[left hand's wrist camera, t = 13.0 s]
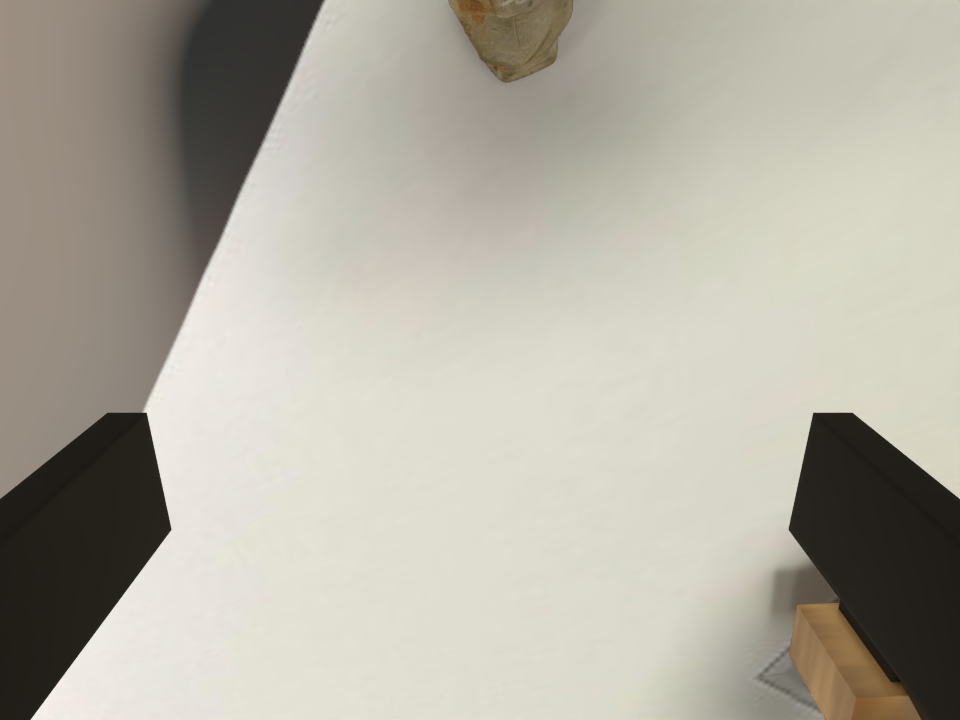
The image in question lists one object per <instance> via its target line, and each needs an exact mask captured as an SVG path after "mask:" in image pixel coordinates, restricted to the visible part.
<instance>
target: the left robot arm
mask: <svg viewBox="0 0 960 720" xmlns="http://www.w3.org/2000/svg"><path fill="white" fill-rule="evenodd" d="M170 531H171V525H170V520H169V516H168V511H167V506H166V502H165V497H164V492H163V487H162V483H161V478H160V473H159V469H158V464H157V459H156V455H155V450H154V445H153V441H152V436H151V431H150V426H149V422H148V417H147V413H107V414H106V415H104V416H103V417H102V418H101V419H99V420H98V421H97V422H96V423H94V424H93V425H92V426H91V427H89V428H88V429H87V430H86V431H84V432H83V433H82V434H81V435H79V436H78V437H77V438H76V439H74V440H73V441H72V442H71V443H70V444H68V445H67V446H66V447H65V448H63V449H62V450H61V451H60V452H58V453H57V454H56V455H55V456H53V457H52V458H51V459H50V460H48V461H47V462H46V463H45V464H43V465H42V466H41V467H40V468H38V469H37V470H36V471H35V472H33V473H32V474H31V475H30V476H28V477H27V478H26V479H25V480H23V481H22V482H21V483H20V484H19V485H17V486H16V487H15V488H13V489H12V490H11V491H10V492H8V493H7V494H6V495H5V496H4V497H2V498H1V499H0V720H31V718H32V717H33V716H34V714H35V713H36V712H37V710H38V709H39V708H40V706H41V705H42V703H43V702H44V701H45V699H46V698H47V697H48V695H49V694H50V693H51V691H52V690H53V689H54V687H55V686H56V685H57V683H58V682H59V681H60V679H61V678H62V677H63V675H64V674H65V672H66V671H67V670H68V668H69V667H70V666H71V664H72V663H73V662H74V660H75V659H76V658H77V656H78V655H79V654H80V652H81V651H82V650H83V648H84V647H85V646H86V644H87V643H88V641H89V640H90V639H91V637H92V636H93V635H94V633H95V632H96V631H97V629H98V628H99V627H100V625H101V624H102V623H103V621H104V620H105V619H106V617H107V616H108V615H109V613H110V612H111V610H112V609H113V608H114V606H115V605H116V604H117V602H118V601H119V600H120V598H121V597H122V596H123V594H124V593H125V592H126V590H127V589H128V588H129V586H130V585H131V584H132V582H133V581H134V579H135V578H136V577H137V575H138V574H139V573H140V571H141V570H142V569H143V567H144V566H145V565H146V563H147V562H148V561H149V559H150V558H151V557H152V555H153V554H154V553H155V551H156V550H157V548H158V547H159V546H160V544H161V543H162V542H163V540H164V539H165V538H166V536H167V535H168V534H169V532H170ZM789 531H790V532H791V534H792V535H793V536H794V538H795V539H796V540H797V542H798V543H799V544H800V546H801V547H802V548H803V550H804V551H805V553H806V554H807V555H808V557H809V558H810V559H811V561H812V562H813V563H814V565H815V566H816V567H817V569H818V570H819V571H820V573H821V574H822V575H823V577H824V578H825V579H826V581H827V582H828V584H829V585H830V586H831V588H832V589H833V590H834V592H835V593H836V594H837V596H838V597H839V598H840V600H841V601H842V602H843V604H844V605H845V606H846V608H847V609H848V610H849V612H850V613H851V615H852V616H853V617H854V619H855V620H856V621H857V623H858V624H859V625H860V627H861V628H862V629H863V631H864V632H865V633H866V635H867V636H868V637H869V639H870V640H871V641H872V643H873V644H874V646H875V647H876V648H877V650H878V651H879V652H880V654H881V655H882V656H883V658H884V659H885V660H886V662H887V663H888V664H889V666H890V667H891V668H892V670H893V671H894V672H895V674H896V675H897V677H898V678H899V679H900V681H901V682H902V683H903V685H904V686H905V687H906V689H907V690H908V691H909V693H910V694H911V695H912V697H913V698H914V699H915V701H916V702H917V703H918V705H919V706H920V708H921V709H922V710H923V712H924V713H925V714H926V716H927V717H928V718H929V720H960V499H959V498H958V497H956V496H955V495H954V494H953V493H952V492H950V491H949V490H948V489H947V488H945V487H944V486H943V485H942V484H940V483H939V482H938V481H937V480H935V479H934V478H933V477H932V476H930V475H929V474H928V473H927V472H925V471H924V470H923V469H922V468H920V467H919V466H918V465H917V464H915V463H914V462H913V461H912V460H910V459H909V458H908V457H907V456H905V455H904V454H903V453H902V452H900V451H899V450H898V449H897V448H895V447H894V446H893V445H892V444H890V443H889V442H888V441H887V440H886V439H884V438H883V437H882V436H881V435H879V434H878V433H877V432H876V431H874V430H873V429H872V428H871V427H869V426H868V425H867V424H866V423H864V422H863V421H862V420H861V419H859V418H858V417H857V416H856V415H854V414H853V413H813V417H812V422H811V426H810V431H809V436H808V441H807V445H806V450H805V455H804V459H803V464H802V469H801V473H800V478H799V483H798V487H797V492H796V497H795V502H794V506H793V511H792V516H791V520H790V525H789Z"/></svg>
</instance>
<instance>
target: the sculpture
mask: <svg viewBox="0 0 960 720" xmlns="http://www.w3.org/2000/svg"><path fill="white" fill-rule="evenodd" d="M449 4H450V6H451V8H452V9H453V11H454V13H455V14H456V16H457V17H458V19H459V21H460V22H461V24H462V26H463V28H464V31H465V33H466V34H467V35H468V37H469V39H470V41H471V42H472V44H473V46H474V47H475V49H476V50H477V52H478V54H479V56H480V59H481V60H482V61H484V62H485V63H486V64H487V66H488V67H489V69H490V70H491V71H492V72H493V73H494V74H495V75H496V76H497V77H498V78H499V79H500V80H501V81H503V82H511V81H514V80H517V79H520V78H523V77H526V76H528V75H531V74H533V73H535V72H537V71H539V70H541V69H543V68H545V67H547V66H550V65H551V64H552V63H554V61H555V60H556V57H557V48H558V37H559V35H560V34H561V32H562V31H563V29H564V28H565V26H566V25H567V23H568V22H569V20H570V17H571V14H572V10H573V0H449Z"/></svg>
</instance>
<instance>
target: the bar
mask: <svg viewBox="0 0 960 720" xmlns="http://www.w3.org/2000/svg"><path fill="white" fill-rule="evenodd" d="M838 608H839V603H824V604H799V605H797V610H796V616H795V622H794V628H793V635H792V641H791V647H790V653H789V655H790V657H791V659H792V661H793V662H794V664H795V666H796V668H797V670H798V671H799V673H800V675H801V677H802V679H803V680H804V682H805V684H806V686H807V688H808V689H809V691H810V693H811V695H812V696H813V698H814V700H815V702H816V704H817V705H818V707H819V709H820V711H821V713H822V714H823V716H824V718H825V720H921V718H920V716H919V714H918V713H917V711H916V709H915V707H914V705H913V703H912V702H911V700H910V698H909V696H908V694H907V692H906V691H905V689H904V687H903V685H902V683H901V682H890V680H889V679H888V677H887V676H886V675H885V673H884V672H883V670H882V669H881V668H880V666H879V665H878V663H877V662H876V661H875V659H874V658H873V656H872V655H871V654H870V652H869V651H868V649H867V648H866V647H865V645H864V644H863V642H862V641H861V639H860V638H859V637H858V635H857V634H856V632H855V631H854V630H853V628H852V627H851V625H850V624H849V623H848V621H847V620H846V618H845V617H844V616H843V614H842V613H841V611H840V610H839V609H838Z"/></svg>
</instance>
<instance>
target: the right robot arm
mask: <svg viewBox="0 0 960 720" xmlns="http://www.w3.org/2000/svg"><path fill="white" fill-rule="evenodd" d="M838 609H839V610H840V611H841V613H842V614H843V616H844V617H845V618H846V620H847V621H848V623H849V624H850V625H851V627H852V628H853V630H854V631H855V632H856V634H857V635H858V637H859V638H860V639H861V641H862V642H863V644H864V645H865V647H866V648H867V649H868V651H869V652H870V654H871V655H872V656H873V658H874V659H875V661H876V662H877V663H878V665H879V666H880V668H881V669H882V670H883V672H884V673H885V675H886V676H887V677H888V679H889V680H890V682H901V681H900V679H899V678H898V677H897V675H896V674H895V672H894V671H893V670H892V668H891V667H890V666H889V664H888V663H887V662H886V660H885V659H884V658H883V656H882V655H881V654H880V652H879V651H878V650H877V648H876V647H875V646H874V644H873V643H872V641H871V640H870V639H869V637H868V636H867V635H866V633H865V632H864V631H863V629H862V628H861V627H860V625H859V624H858V623H857V621H856V620H855V619H854V617H853V616H852V615H851V613H850V612H849V610H848V609H847V608H846V606H845V605H844V604H843V602H842V601H840V603H839V608H838ZM901 683H902V682H901ZM902 685H903V683H902ZM903 687H904V689H905V691H906V692H907V694H908V696H909V698H910V700H911V702H912V703H913V705H914V707H915V709H916V711H917V713H918V714H919V716H920V718H921V720H929V718H928V717H927V716H926V714H925V713H924V712H923V710H922V709H921V708H920V706H919V705H918V703H917V702H916V701H915V699H914V698H913V697H912V695H911V694H910V693H909V691H908V690H907V689H906V687H905V686H904V685H903Z"/></svg>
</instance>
